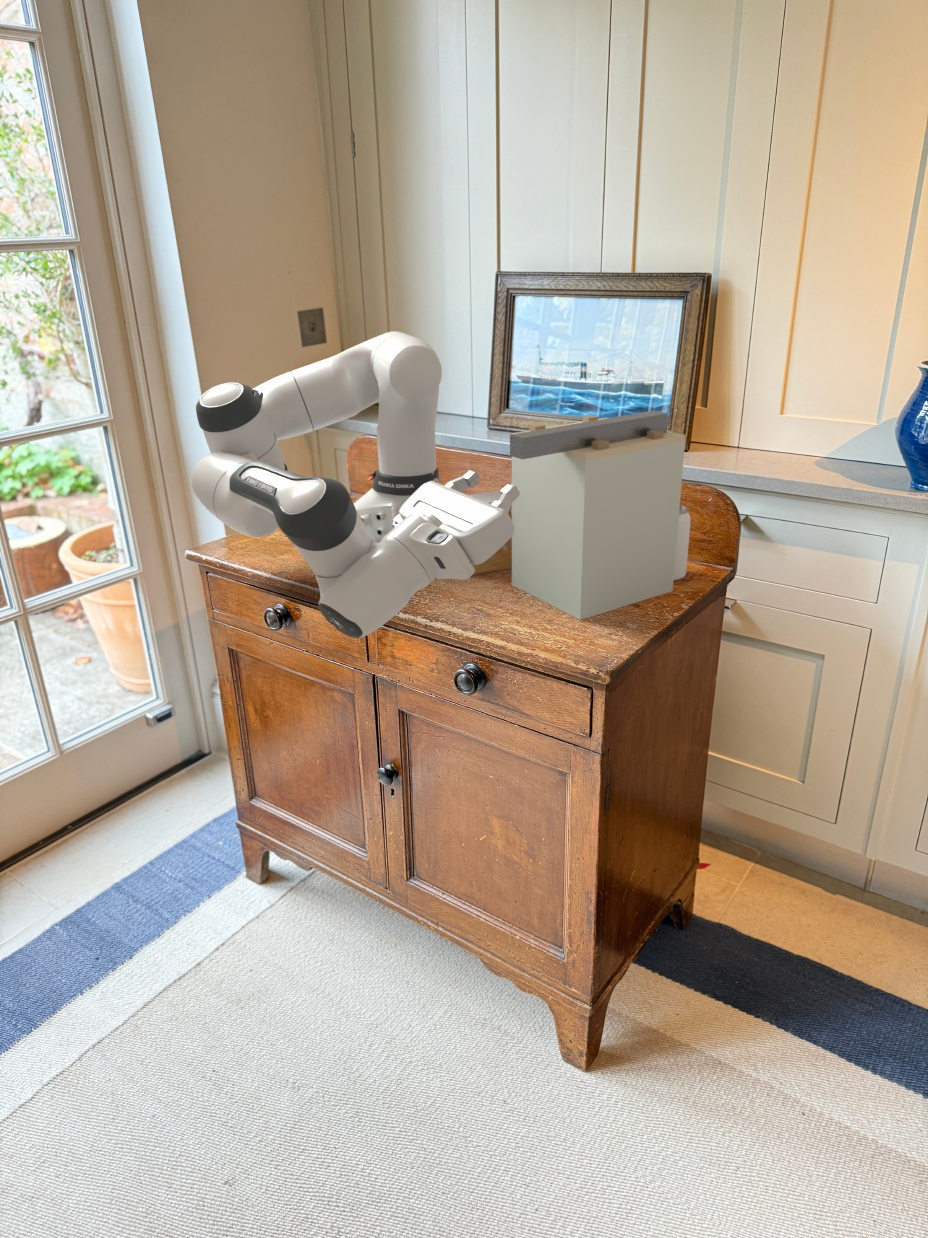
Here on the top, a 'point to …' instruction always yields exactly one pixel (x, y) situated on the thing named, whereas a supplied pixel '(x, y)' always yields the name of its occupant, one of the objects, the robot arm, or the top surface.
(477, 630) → the top surface
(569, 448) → the long grey bar
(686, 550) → the can
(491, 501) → the small box
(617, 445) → the stand
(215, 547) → the top surface
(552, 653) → the top surface
